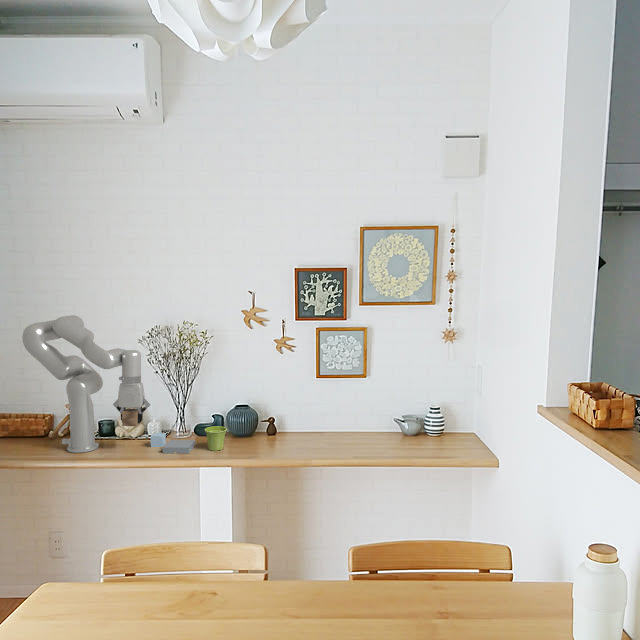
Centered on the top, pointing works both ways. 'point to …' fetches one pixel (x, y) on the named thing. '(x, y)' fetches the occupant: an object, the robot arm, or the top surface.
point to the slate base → (179, 446)
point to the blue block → (158, 439)
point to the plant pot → (215, 437)
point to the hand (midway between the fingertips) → (131, 421)
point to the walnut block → (130, 417)
